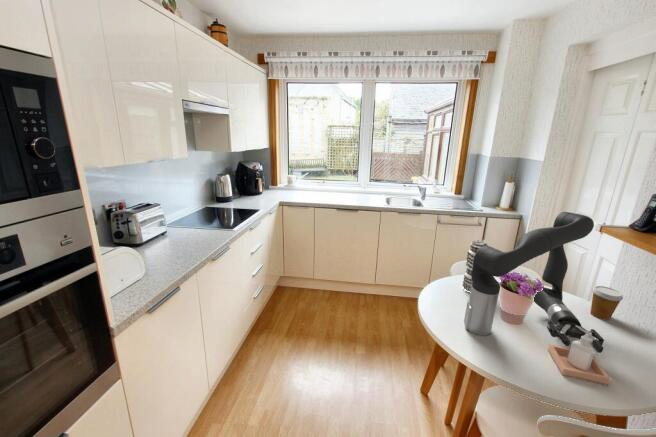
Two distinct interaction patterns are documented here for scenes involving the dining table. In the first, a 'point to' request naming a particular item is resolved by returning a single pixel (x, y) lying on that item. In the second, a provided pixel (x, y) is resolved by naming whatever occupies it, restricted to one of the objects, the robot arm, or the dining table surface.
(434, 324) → the dining table surface
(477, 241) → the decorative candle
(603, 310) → the disposable coffee cup
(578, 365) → the eye dropper bottle
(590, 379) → the terracotta caddy
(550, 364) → the dining table surface
